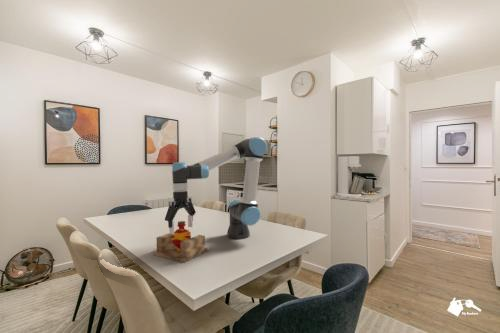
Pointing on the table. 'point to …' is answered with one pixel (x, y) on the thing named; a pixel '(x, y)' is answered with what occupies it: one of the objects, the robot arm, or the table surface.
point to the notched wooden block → (187, 248)
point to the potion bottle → (180, 235)
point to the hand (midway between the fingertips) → (181, 230)
